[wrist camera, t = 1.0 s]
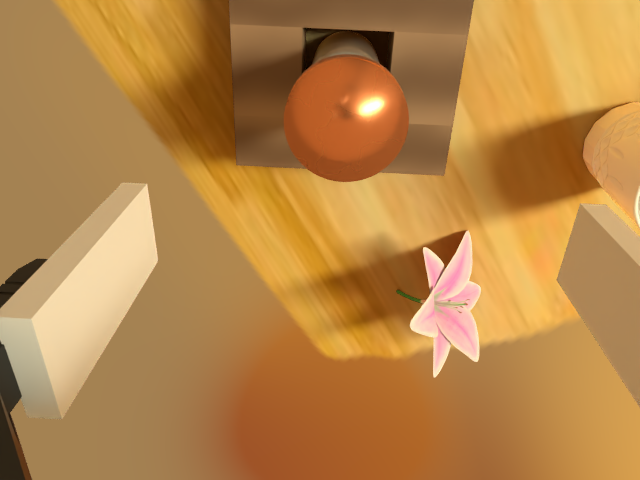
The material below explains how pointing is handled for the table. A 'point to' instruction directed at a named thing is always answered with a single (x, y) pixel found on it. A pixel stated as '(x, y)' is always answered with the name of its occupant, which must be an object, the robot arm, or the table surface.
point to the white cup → (617, 157)
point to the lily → (449, 305)
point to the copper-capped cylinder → (346, 111)
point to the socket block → (402, 62)
